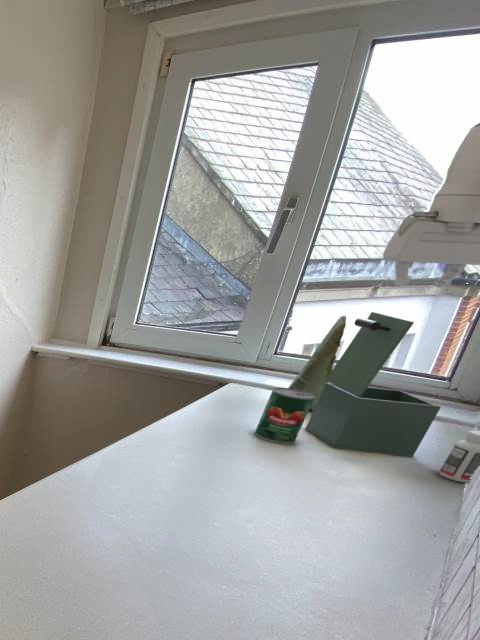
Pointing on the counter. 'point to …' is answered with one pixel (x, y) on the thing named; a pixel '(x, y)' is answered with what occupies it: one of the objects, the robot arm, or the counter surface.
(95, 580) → the counter surface
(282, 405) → the canned tomato
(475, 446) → the pill bottle
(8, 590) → the counter surface
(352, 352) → the lid
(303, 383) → the pouch
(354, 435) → the chest
